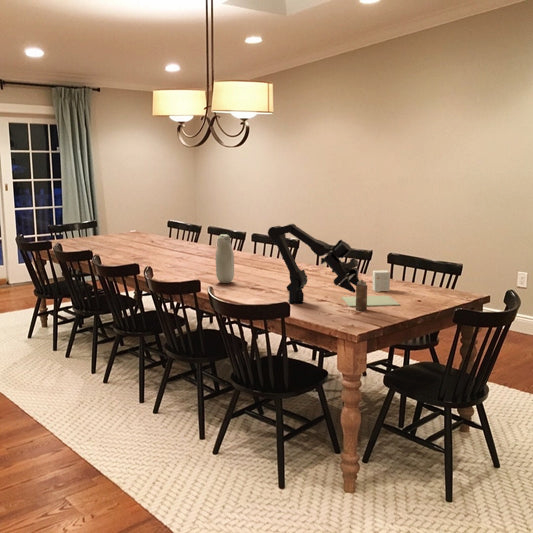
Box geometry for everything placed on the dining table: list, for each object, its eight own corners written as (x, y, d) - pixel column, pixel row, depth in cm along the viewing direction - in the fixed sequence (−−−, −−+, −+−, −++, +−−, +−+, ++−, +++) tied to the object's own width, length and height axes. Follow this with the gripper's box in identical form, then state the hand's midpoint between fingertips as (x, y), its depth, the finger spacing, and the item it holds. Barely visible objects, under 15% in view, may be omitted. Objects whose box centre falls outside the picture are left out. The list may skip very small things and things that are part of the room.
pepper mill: (357, 311, 249) (357, 281, 247) (354, 308, 254) (355, 278, 252) (368, 311, 250) (368, 280, 247) (365, 308, 254) (365, 278, 252)
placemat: (349, 306, 257) (349, 305, 257) (341, 298, 275) (341, 296, 275) (399, 305, 259) (399, 304, 259) (388, 296, 277) (388, 295, 277)
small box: (387, 289, 293) (387, 270, 292) (389, 291, 288) (390, 272, 286) (372, 289, 293) (372, 270, 291) (374, 292, 288) (375, 272, 286)
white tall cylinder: (237, 282, 316) (236, 233, 311) (226, 285, 308) (225, 235, 303) (224, 280, 322) (222, 232, 317) (212, 283, 314) (211, 234, 309)
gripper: (340, 256, 242) (364, 282, 239) (354, 250, 259) (377, 275, 255) (323, 272, 248) (346, 298, 244) (338, 265, 264) (360, 290, 260)
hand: (358, 290), depth 251 cm, fingers open, 9 cm apart
